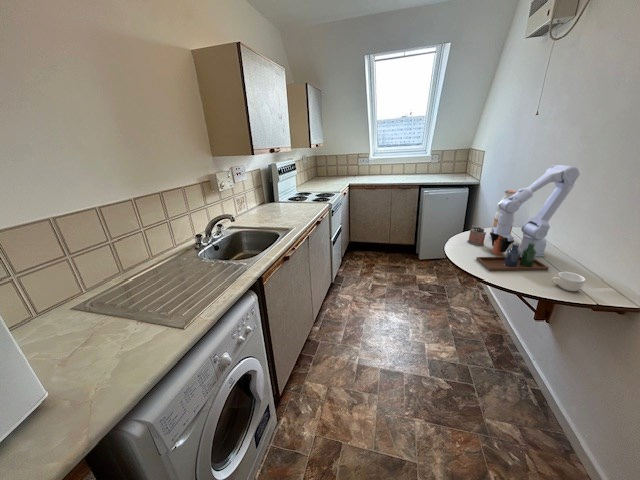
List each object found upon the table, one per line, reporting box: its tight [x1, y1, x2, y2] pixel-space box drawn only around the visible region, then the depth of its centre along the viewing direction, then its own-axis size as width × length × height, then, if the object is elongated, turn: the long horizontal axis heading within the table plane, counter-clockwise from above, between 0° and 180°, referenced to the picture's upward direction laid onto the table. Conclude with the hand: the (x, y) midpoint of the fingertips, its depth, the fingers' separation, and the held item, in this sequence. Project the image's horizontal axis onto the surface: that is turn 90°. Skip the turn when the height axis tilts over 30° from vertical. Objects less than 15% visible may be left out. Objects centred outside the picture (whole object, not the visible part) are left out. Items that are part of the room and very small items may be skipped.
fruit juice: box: [489, 189, 517, 238], centre depth 150 cm, size 9×9×28 cm
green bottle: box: [519, 243, 537, 267], centre depth 122 cm, size 5×5×10 cm
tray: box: [475, 255, 550, 272], centre depth 124 cm, size 26×12×2 cm, turn 88°
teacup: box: [550, 271, 586, 292], centre depth 105 cm, size 10×8×5 cm
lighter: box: [467, 225, 487, 247], centre depth 147 cm, size 8×3×10 cm, turn 40°
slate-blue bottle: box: [504, 242, 521, 267], centre depth 122 cm, size 5×5×10 cm
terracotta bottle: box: [491, 235, 505, 256], centre depth 134 cm, size 5×5×10 cm
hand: (498, 248), depth 135 cm, fingers open, 7 cm apart
